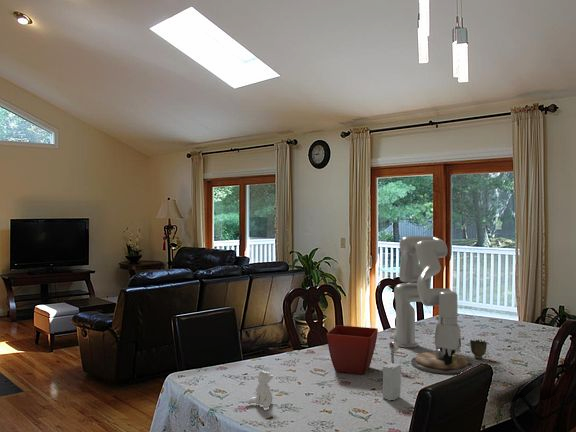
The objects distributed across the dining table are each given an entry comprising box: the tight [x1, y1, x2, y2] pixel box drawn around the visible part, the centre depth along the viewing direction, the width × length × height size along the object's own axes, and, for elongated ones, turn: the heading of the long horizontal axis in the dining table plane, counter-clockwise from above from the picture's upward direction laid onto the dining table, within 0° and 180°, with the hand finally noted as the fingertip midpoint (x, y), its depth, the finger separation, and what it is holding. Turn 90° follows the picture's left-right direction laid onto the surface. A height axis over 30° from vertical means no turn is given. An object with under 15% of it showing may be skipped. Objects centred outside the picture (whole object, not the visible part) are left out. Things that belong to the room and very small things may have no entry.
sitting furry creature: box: [245, 370, 274, 409], centre depth 185 cm, size 10×9×12 cm
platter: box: [415, 351, 468, 369], centre depth 232 cm, size 22×22×6 cm
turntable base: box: [410, 356, 473, 375], centre depth 232 cm, size 26×26×1 cm
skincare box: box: [382, 362, 402, 401], centre depth 191 cm, size 6×4×12 cm
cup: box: [469, 339, 488, 360], centre depth 243 cm, size 8×7×8 cm
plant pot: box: [326, 324, 379, 375], centre depth 226 cm, size 19×19×17 cm
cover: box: [435, 347, 449, 360], centre depth 232 cm, size 7×7×4 cm
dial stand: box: [388, 341, 400, 364], centre depth 228 cm, size 6×5×12 cm
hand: (448, 364), depth 219 cm, fingers closed
